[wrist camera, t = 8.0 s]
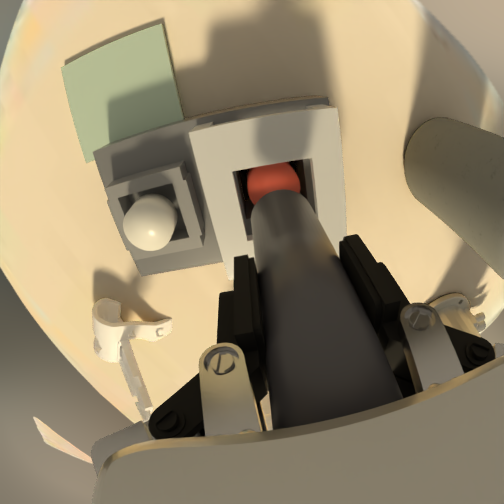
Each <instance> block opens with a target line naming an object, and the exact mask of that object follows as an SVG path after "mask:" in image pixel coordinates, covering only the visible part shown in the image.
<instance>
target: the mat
mask: <svg viewBox="0 0 504 504" xmlns="http://www.w3.org/2000/svg"><path fill="white" fill-rule="evenodd" d="M61 70H62V75H63V80H64V85H65V89H66V94H67V98H68V102H69V106H70V110H71V114H72V117H73V121H74V125H75V128H76V132H77V135H78V139H79V142H80V145H81V148H82V152H83V155H84V158H85V161H86V163H88V162H91V161H93V160H95V158H94V155H93V152H94V151H95V150H97V149H99V148H101V147H103V146H105V145H107V144H109V143H111V142H114V141H116V140H119V139H122V138H125V137H128V136H131V135H134V134H137V133H140V132H143V131H146V130H149V129H152V128H155V127H159V126H162V125H165V124H169V123H172V122H176V121H180V120H183V119H184V115H183V111H182V107H181V102H180V98H179V94H178V90H177V85H176V81H175V77H174V73H173V68H172V64H171V59H170V55H169V50H168V46H167V41H166V36H165V32H164V27H163V24H158V25H155V26H152V27H149V28H147V29H144V30H141V31H138V32H136V33H133V34H130V35H128V36H125V37H123V38H120V39H118V40H116V41H113V42H111V43H109V44H107V45H104V46H102V47H100V48H98V49H96V50H94V51H92V52H90V53H88V54H86V55H84V56H82V57H80V58H78V59H76V60H74V61H72V62H70V63H69V64H67V65H65V66H63V67H61Z"/></svg>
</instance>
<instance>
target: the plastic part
mask: <svg viewBox="0 0 504 504" xmlns="http://www.w3.org/2000/svg"><path fill="white" fill-rule="evenodd" d="M120 314H121V302H118V301H115V300H112V299H109V298H103V299H100V300H98V301H97V302H96V303H95V304H94V306H93V309H92V318H93V331H94V334H95V339H94V351H95V353H96V355H97V356H98V357H99V358H101V359H103V360H105V361H107V362H113V363H114V362H119V363H120V366H121V368H122V371H123V374H124V376H125V379H126V382H127V384H128V387H129V389H130V392H131V394H132V396H133V397H134V396H137V398H138V401H139V402H135V404H136V406H137V408H138V410H139V412H140V414H141V416H142V418H143V422H146V421H148V420H149V418H150V416H151V414H150V412H153V410H152V409H153V405H152V403H151V400H150V397H149V394H148V392H147V389H146V386H145V384H144V381H143V378H142V376H141V373H140V370H139V368H138V365H137V362H136V359H135V356H134V353H133V350H132V348H131V345H130V342H129V339H145V340H148V341H150V342H155V341H157V340H159V339H161V338H163V337H165V336H166V335H168V334H169V333H171V332H172V318H170V319H163V320H160V321H157V322H144V321H130V322H123V320H122V319H121V318H120Z"/></svg>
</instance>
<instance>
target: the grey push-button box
mask: <svg viewBox="0 0 504 504" xmlns="http://www.w3.org/2000/svg"><path fill="white" fill-rule="evenodd" d="M93 155H94V158H95V161H96V164H97V167H98V170H99V173H100V176H101V179H102V182H103V185H104V189H105V191H106V194H107V197H108V200H107V203H108V206H109V208H110V211H111V214H112V216H113V219H114V221H115V224H116V226H117V228H118V231H119V233H120V236H121V238H122V240H123V243H124V245H125V247H126V250H127V251H128V250H129V251H130V253H131V256H132V258H133V260H134V261H135V264H136V266H137V268H138V270H139V272H140V274H141V276H147V275H152V274H158V273H164V272H169V271H175V270H181V269H186V268H192V267H198V266H203V265H209V264H215V263H220V262H224V266H225V269H226V273H227V276H228V279H229V280H234V257H236V256H241V255H247V254H248V256H249V258H251V257H254V260H255V254H254V245H253V235H252V226H251V214H252V210H253V208H254V206H255V205H254V204H253V203H252V201H251V200H246V201H245V198H244V193H243V189H242V184H241V179H240V175H239V170H243V169H248V168H253V167H259V166H264V165H270V164H276V163H282V162H288V161H294V160H295V164H296V171H297V176H298V178H299V181H300V193H299V194H301V195H302V196H304V197H305V198H306V199H307V201H308V202H309V204H310V205H311V207H312V209H313V211H314V212H315V214H316V216H317V218H318V220H319V221H320V223H321V225H322V227H323V229H324V230H325V232H326V234H327V236H328V238H329V240H330V241H331V243H332V245H333V247H334V249H335V251H336V253H337V255H338V257H339V241H343V237H344V236H347V225H346V198H345V181H344V166H343V154H342V143H341V133H340V124H339V116H338V108H337V107H332V106H329V101H328V97H323V96H304V97H296V98H288V99H280V100H273V101H267V102H261V103H255V104H249V105H243V106H238V107H233V108H228V109H223V110H219V111H214V112H210V113H206V114H202V115H197V116H193V117H190V118H186V119H183V120H180V121H176V122H172V123H169V124H165V125H162V126H159V127H155V128H152V129H149V130H146V131H143V132H140V133H137V134H134V135H131V136H128V137H125V138H122V139H119V140H116V141H114V142H111V143H109V144H107V145H105V146H103V147H101V148H99V149H97V150H95V151H94V152H93ZM150 193H155V194H160V195H162V196H165V197H166V198H168V199H169V200H170V201H171V202H172V203H173V205H174V206H175V208H176V211H177V216H178V218H177V224H176V226H175V229H174V231H173V234H172V236H171V239H170V241H169V242H168V244H167V245H166V246H164V247H163V248H161V249H159V250H155V251H146V250H142V249H140V248H138V247H136V246H134V245H133V244H132V243H131V242H130V241H129V240H128V238H127V237H126V235H125V233H124V229H123V220H124V217H125V215H126V213H127V212H128V211H129V209H130V208H131V207H132V205H133V204H134V203H135V202H136V200H137V199H138V198H140V197H141V196H143V195H145V194H150Z"/></svg>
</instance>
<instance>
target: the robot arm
mask: <svg viewBox="0 0 504 504" xmlns="http://www.w3.org/2000/svg"><path fill="white" fill-rule="evenodd" d="M339 258H340V260H341V262H342V264H343V266H344V268H345V270H346V272H347V274H348V276H349V278H350V280H351V282H352V284H353V286H354V288H355V290H356V292H357V294H358V296H359V298H360V300H361V302H362V304H363V306H364V309H365V311H366V313H367V315H368V317H369V319H370V321H371V324H372V326H373V328H374V330H375V332H376V334H377V337H378V339H379V341H380V343H381V346H382V348H383V350H384V353H385V355H386V357H387V360H388V362H389V364H390V367H391V369H392V371H393V374H394V376H395V379H396V381H397V384H398V386H399V389H400V391H401V394H402V396H403V399H401V400H398V401H395V402H392V403H389V404H386V405H383V406H379V407H376V408H373V409H369V410H366V411H362V412H359V413H355V414H351V415H347V416H343V417H339V418H335V419H330V420H326V421H321V422H316V423H311V424H306V425H301V426H295V427H290V428H283V429H277V430H270V431H268V429H267V425H266V421H265V417H264V413H263V408H262V404H261V400H262V399H263V398H264V397H265V396H266V395H267V394H268V391H269V389H268V379H267V370H266V360H265V354H266V346H265V336H264V327H263V318H262V309H261V300H260V291H259V282H258V273H257V269H256V264H255V260H254V257H251V258H249V256H248V254H247V255H241V256H236V257H234V291H228V292H222V293H220V295H219V309H218V329H217V344H216V345H213V346H211V347H209V348H208V349H206V350H205V352H204V353H203V354H202V355H201V357H200V359H199V373H198V374H197V375H196V376H195V377H193V378H192V379H191V380H190V381H189V382H188V383H186V384H185V385H184V386H183V387H182V388H181V389H179V390H178V391H177V392H176V393H175V394H174V395H172V396H171V397H170V398H169V399H168V400H166V401H165V402H164V403H163V404H162V405H160V406H159V407H158V408H157V409H156V410H155V411H154V412H153V413H152V414H151V416H150V418H149V420H148V421H146V422H143V421H139V422H137V423H135V424H133V425H131V426H129V427H126V428H124V429H122V430H120V431H118V432H115V433H113V434H111V435H108V436H106V437H104V438H102V439H99V440H98V441H96V442H95V444H94V445H93V447H92V450H91V458H92V461H93V465H94V468H95V471H96V474H97V481H96V485H95V489H94V493H93V498H92V504H504V344H500V343H495V344H494V346H492V345H491V344H490V343H489V342H488V341H487V340H485V339H483V338H482V337H481V335H480V334H479V332H480V331H482V330H484V329H485V327H486V324H485V321H484V319H485V315H484V313H483V312H481V313H478V314H476V315H475V316H474V315H472V313H471V312H470V303H469V301H468V300H467V298H466V297H465V296H464V295H462V294H459V293H453V294H448V295H445V296H442V297H440V298H438V299H436V300H435V301H433V302H431V303H430V304H429V305H427V304H424V303H412V304H410V303H409V301H408V300H407V298H406V296H405V295H404V293H403V292H402V290H401V289H400V287H399V285H398V284H397V282H396V281H395V279H394V278H393V276H392V275H391V273H390V272H389V270H388V269H387V267H386V266H385V265H384V264H383V263H382V262H379V263H377V262H376V260H375V259H374V257H373V256H372V254H371V253H370V251H369V250H368V248H367V247H366V246H365V244H364V243H363V241H362V240H361V238H360V237H359V236H358V235H357V234H355V235H350V236H344V237H343V241H339Z"/></svg>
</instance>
